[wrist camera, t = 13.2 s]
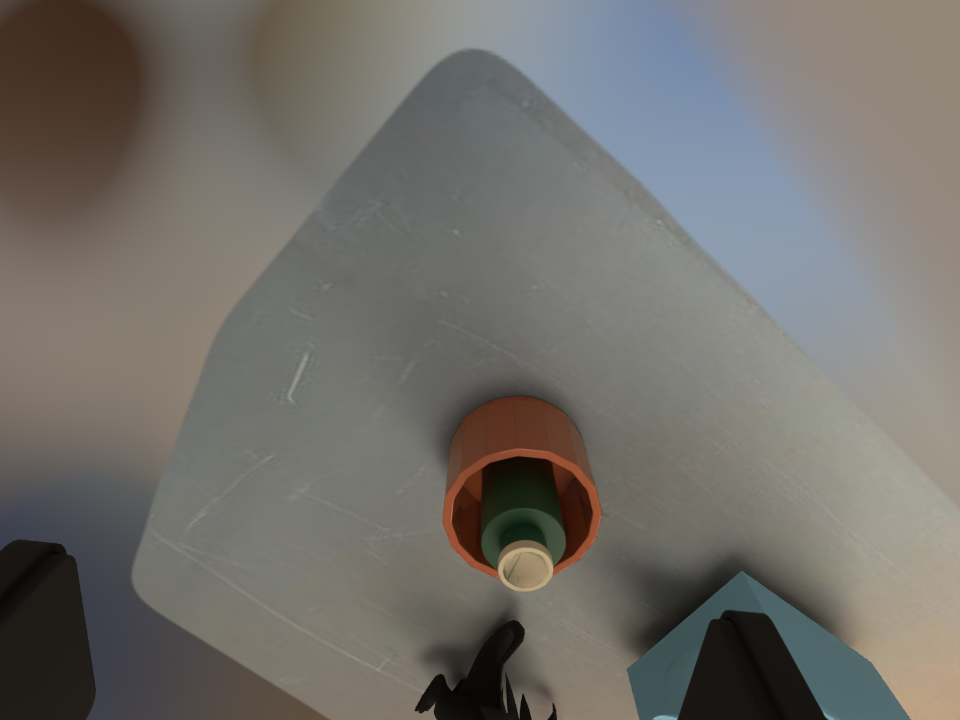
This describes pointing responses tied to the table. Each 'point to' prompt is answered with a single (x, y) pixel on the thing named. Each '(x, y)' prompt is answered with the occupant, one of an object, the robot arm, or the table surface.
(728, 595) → the teapot
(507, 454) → the cup
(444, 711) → the figurine
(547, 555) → the bottle
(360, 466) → the table surface
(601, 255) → the table surface
